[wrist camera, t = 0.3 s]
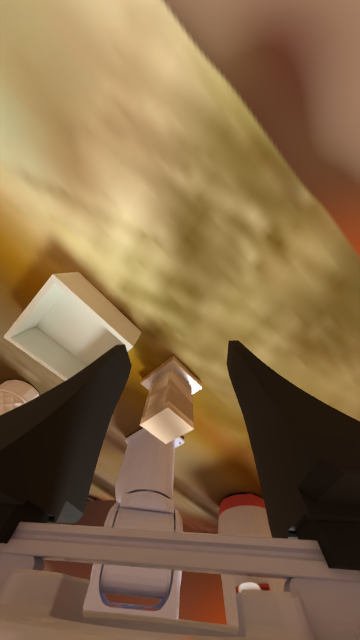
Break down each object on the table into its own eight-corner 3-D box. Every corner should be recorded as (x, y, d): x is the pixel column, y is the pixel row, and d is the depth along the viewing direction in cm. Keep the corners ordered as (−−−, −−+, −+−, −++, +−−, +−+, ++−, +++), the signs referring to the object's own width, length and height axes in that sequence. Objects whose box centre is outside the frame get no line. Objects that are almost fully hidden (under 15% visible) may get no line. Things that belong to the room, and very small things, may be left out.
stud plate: (170, 402, 27) (166, 440, 21) (142, 378, 25) (129, 412, 19) (201, 382, 25) (206, 418, 19) (173, 355, 23) (169, 386, 17)
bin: (95, 371, 25) (79, 391, 21) (34, 324, 22) (3, 336, 18) (141, 332, 22) (133, 346, 18) (78, 271, 19) (52, 274, 15)
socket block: (170, 400, 25) (165, 444, 19) (150, 384, 24) (139, 424, 18) (191, 387, 24) (193, 428, 18) (172, 369, 23) (167, 407, 17)
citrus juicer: (259, 477, 35) (347, 728, 16) (280, 510, 40) (364, 728, 21) (198, 492, 38) (212, 717, 19) (225, 521, 43) (256, 719, 24)
